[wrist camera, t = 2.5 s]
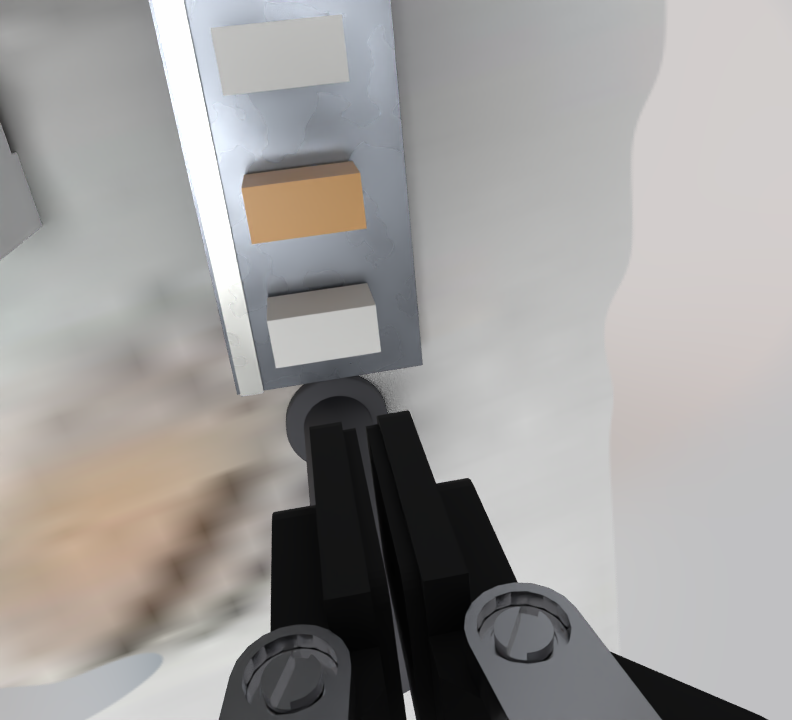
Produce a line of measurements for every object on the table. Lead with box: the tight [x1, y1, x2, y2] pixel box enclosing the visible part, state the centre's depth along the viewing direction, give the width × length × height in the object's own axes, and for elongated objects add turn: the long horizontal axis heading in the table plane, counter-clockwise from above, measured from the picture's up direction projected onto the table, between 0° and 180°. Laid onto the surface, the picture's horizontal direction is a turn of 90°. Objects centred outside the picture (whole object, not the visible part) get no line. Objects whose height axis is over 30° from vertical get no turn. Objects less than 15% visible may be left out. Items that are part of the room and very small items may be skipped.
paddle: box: [210, 14, 349, 96], centre depth 28 cm, size 2×5×3 cm, turn 96°
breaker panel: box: [149, 0, 423, 397], centre depth 33 cm, size 20×10×3 cm, turn 6°
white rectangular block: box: [267, 283, 381, 368], centre depth 33 cm, size 2×5×3 cm, turn 95°
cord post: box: [286, 376, 410, 693], centre depth 33 cm, size 6×6×18 cm
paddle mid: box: [241, 161, 367, 244], centre depth 31 cm, size 2×5×3 cm, turn 96°
